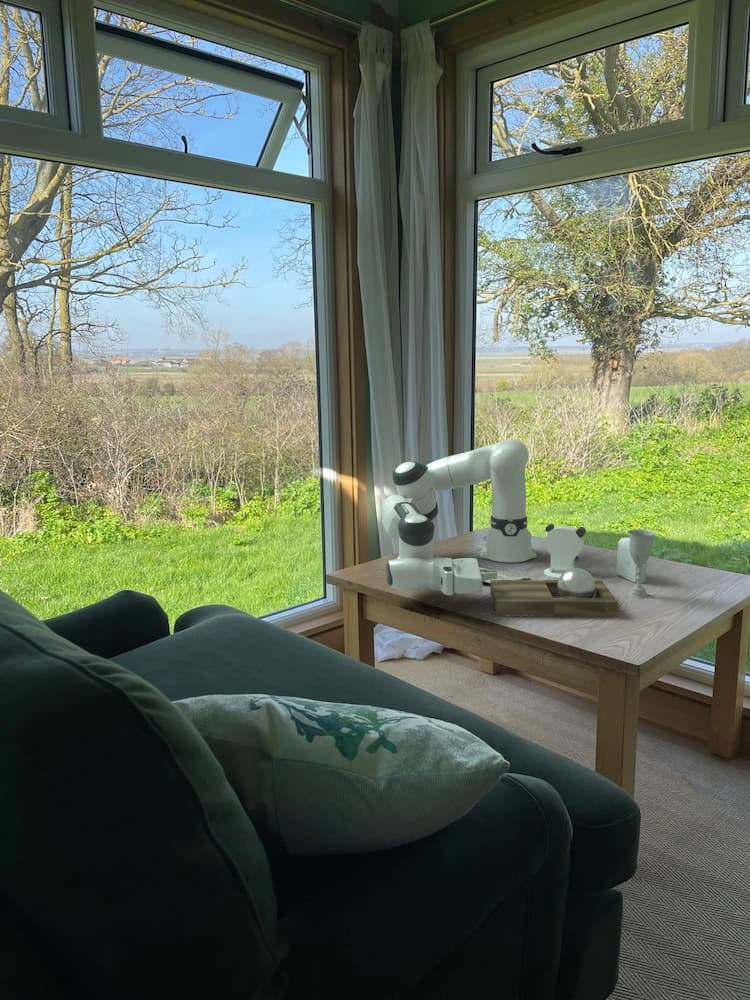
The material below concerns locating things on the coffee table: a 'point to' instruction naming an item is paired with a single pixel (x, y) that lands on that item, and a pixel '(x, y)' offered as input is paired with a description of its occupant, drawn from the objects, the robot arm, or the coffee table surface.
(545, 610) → the brown slotted slab
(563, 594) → the steel ball
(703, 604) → the coffee table surface
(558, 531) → the panda figurine
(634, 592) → the chalice
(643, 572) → the white rounded block
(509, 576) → the newspaper
